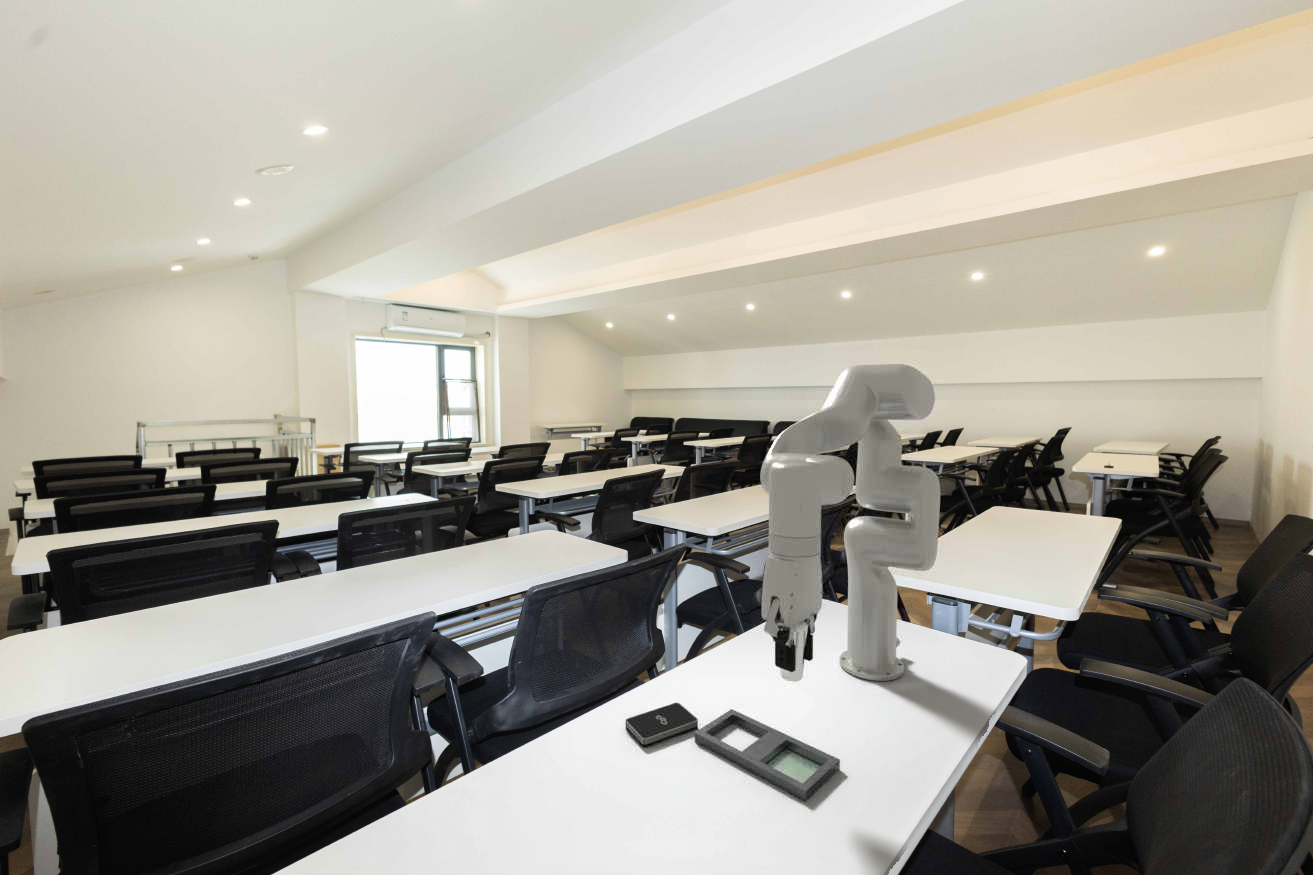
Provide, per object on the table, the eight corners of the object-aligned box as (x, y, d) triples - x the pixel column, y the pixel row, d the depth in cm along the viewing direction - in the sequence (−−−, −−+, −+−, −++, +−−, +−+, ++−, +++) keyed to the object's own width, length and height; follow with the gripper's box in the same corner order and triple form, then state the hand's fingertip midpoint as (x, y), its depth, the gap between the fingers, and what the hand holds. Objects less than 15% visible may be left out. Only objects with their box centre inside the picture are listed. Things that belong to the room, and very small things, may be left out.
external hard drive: (699, 731, 102) (699, 719, 101) (643, 751, 96) (642, 739, 96) (677, 712, 108) (677, 701, 107) (623, 730, 102) (623, 719, 102)
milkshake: (813, 685, 86) (814, 618, 86) (776, 681, 88) (777, 616, 87) (811, 671, 91) (813, 608, 90) (776, 668, 92) (777, 605, 91)
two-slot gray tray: (731, 717, 105) (731, 708, 105) (839, 769, 90) (839, 759, 90) (694, 741, 98) (694, 732, 98) (805, 801, 83) (805, 791, 83)
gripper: (802, 529, 96) (801, 638, 98) (739, 551, 84) (740, 674, 86) (845, 537, 91) (844, 652, 92) (785, 561, 79) (784, 692, 80)
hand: (794, 661), depth 89 cm, fingers closed on milkshake, 4 cm apart
